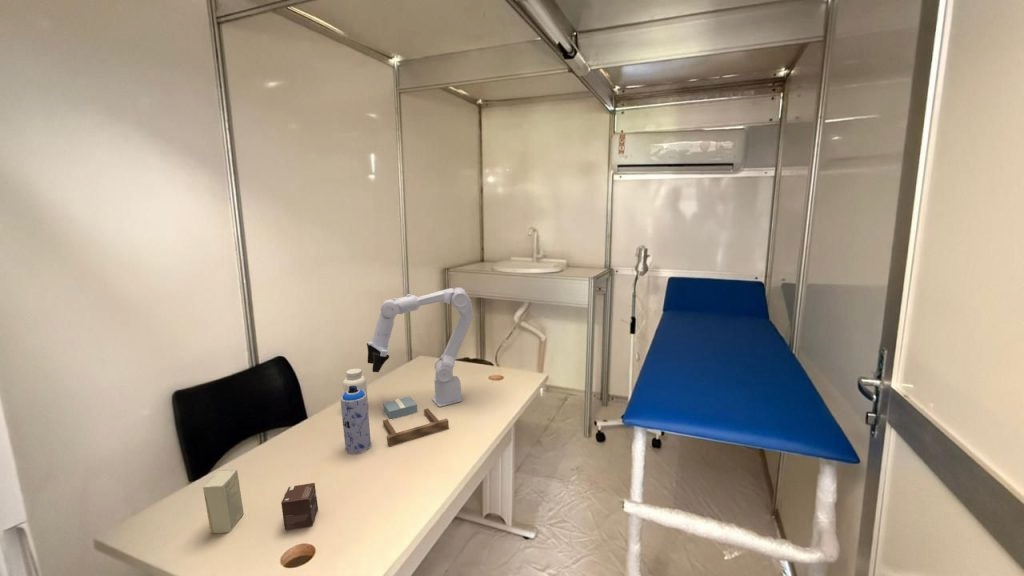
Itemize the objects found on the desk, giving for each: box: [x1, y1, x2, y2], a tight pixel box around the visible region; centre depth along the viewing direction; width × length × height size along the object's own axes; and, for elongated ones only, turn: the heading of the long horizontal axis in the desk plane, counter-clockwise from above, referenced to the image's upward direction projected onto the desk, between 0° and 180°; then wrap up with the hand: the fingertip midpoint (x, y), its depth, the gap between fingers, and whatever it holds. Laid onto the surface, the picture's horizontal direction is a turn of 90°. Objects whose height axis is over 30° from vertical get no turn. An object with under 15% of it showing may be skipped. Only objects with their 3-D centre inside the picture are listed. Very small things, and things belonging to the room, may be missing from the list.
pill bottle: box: [342, 368, 369, 406], centre depth 153 cm, size 8×8×15 cm
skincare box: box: [202, 469, 244, 534], centre depth 97 cm, size 6×4×12 cm
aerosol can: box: [340, 386, 373, 455], centre depth 127 cm, size 8×8×20 cm
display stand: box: [382, 407, 450, 447], centre depth 140 cm, size 20×14×3 cm
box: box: [281, 482, 319, 531], centre depth 98 cm, size 6×6×7 cm
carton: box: [382, 396, 418, 420], centre depth 152 cm, size 10×8×4 cm
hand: (372, 367), depth 152 cm, fingers open, 7 cm apart
